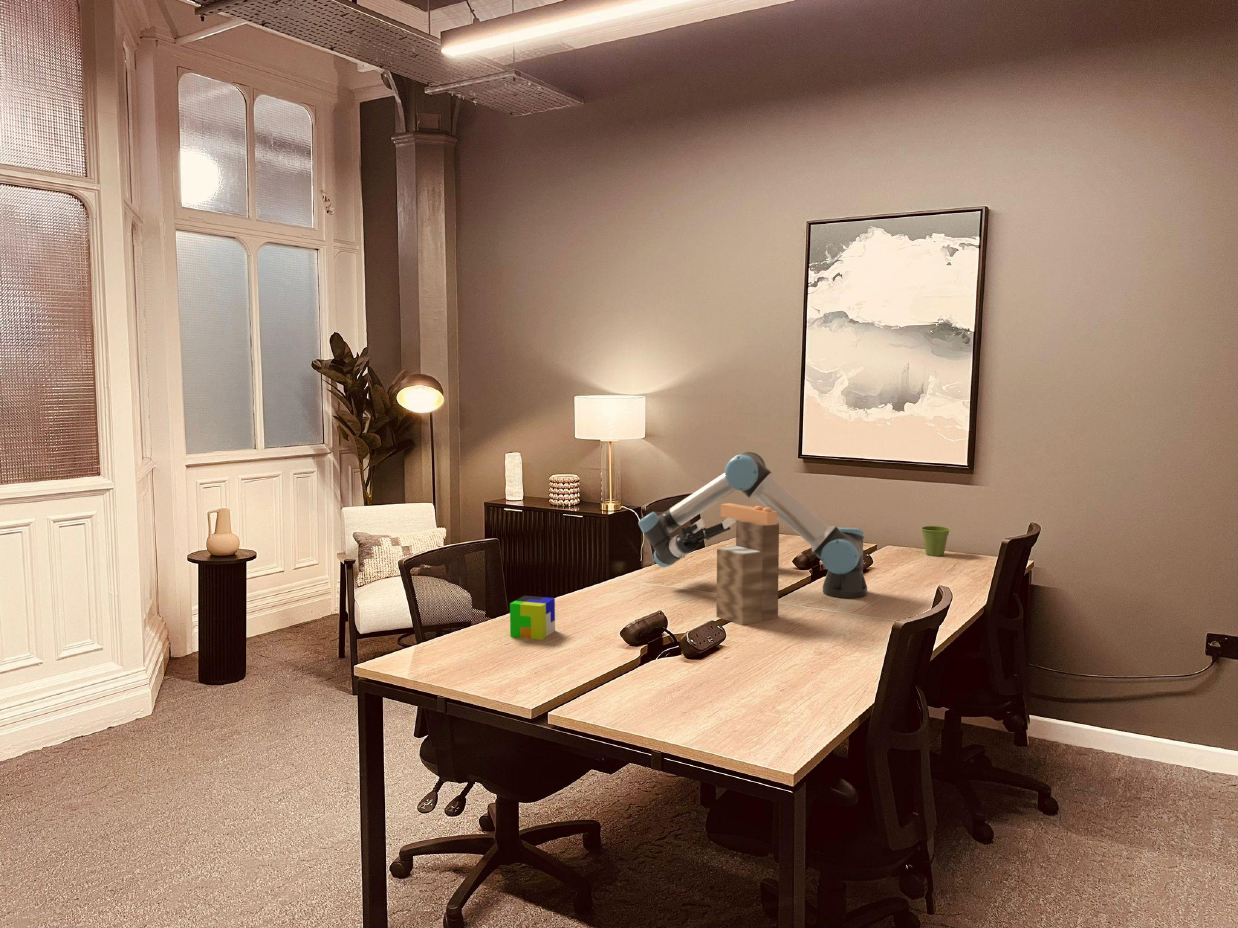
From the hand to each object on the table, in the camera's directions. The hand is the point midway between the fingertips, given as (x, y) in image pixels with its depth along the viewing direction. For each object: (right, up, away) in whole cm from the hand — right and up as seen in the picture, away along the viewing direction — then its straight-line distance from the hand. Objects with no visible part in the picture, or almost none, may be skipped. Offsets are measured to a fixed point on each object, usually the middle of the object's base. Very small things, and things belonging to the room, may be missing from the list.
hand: (719, 519), depth 305 cm
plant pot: (+99, -20, +82) cm, 130 cm away
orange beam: (+8, +1, -11) cm, 13 cm away
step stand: (+8, -30, -13) cm, 33 cm away
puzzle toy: (-59, -32, -30) cm, 74 cm away
